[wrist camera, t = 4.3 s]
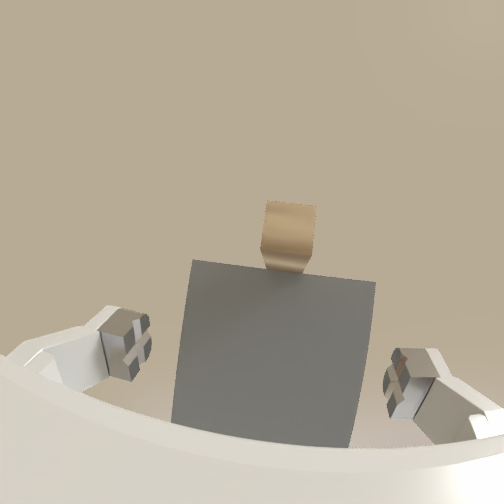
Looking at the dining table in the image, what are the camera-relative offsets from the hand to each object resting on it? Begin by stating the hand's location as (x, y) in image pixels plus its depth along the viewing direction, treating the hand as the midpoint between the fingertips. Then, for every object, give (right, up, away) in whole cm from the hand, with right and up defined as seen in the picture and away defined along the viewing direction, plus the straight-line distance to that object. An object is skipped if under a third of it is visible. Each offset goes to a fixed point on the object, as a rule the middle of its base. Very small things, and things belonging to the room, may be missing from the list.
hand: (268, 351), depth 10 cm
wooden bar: (+2, +1, +18) cm, 19 cm away
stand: (-1, -29, +17) cm, 34 cm away
